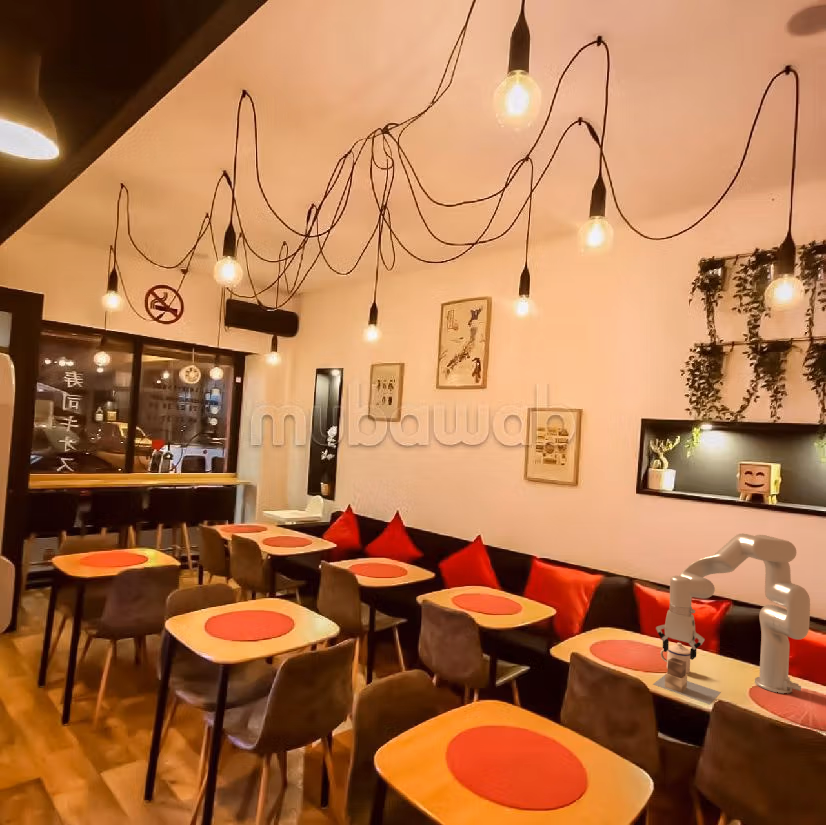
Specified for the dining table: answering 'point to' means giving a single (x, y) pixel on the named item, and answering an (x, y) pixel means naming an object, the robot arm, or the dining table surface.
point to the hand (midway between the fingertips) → (679, 654)
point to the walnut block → (676, 667)
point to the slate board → (693, 691)
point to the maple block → (675, 682)
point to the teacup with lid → (678, 654)
